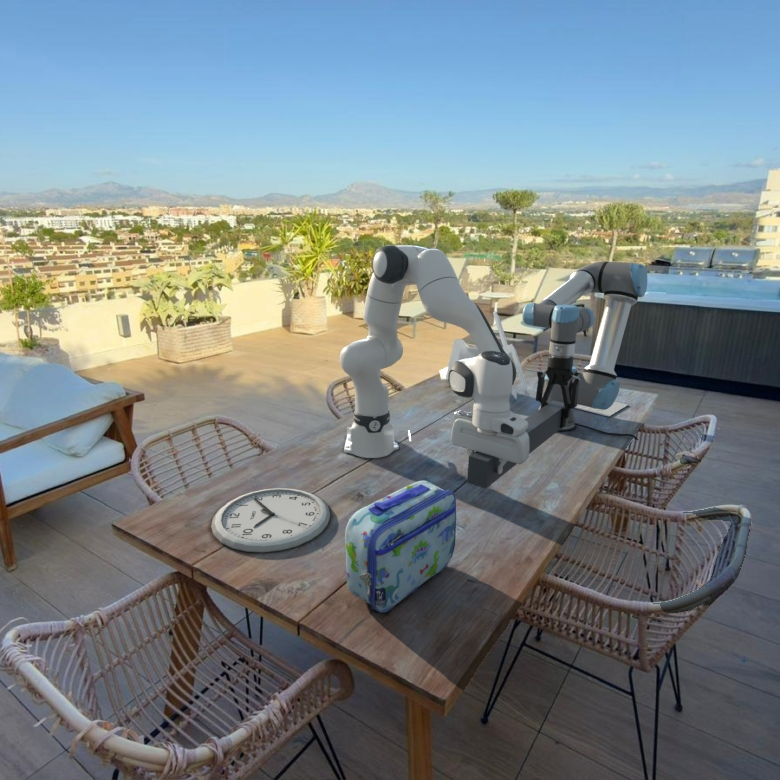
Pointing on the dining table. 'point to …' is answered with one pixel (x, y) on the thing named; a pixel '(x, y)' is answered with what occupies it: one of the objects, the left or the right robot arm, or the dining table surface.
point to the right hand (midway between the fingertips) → (553, 424)
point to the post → (538, 431)
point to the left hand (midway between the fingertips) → (486, 469)
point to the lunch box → (399, 543)
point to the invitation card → (608, 412)
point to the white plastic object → (465, 352)
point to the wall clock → (270, 520)
